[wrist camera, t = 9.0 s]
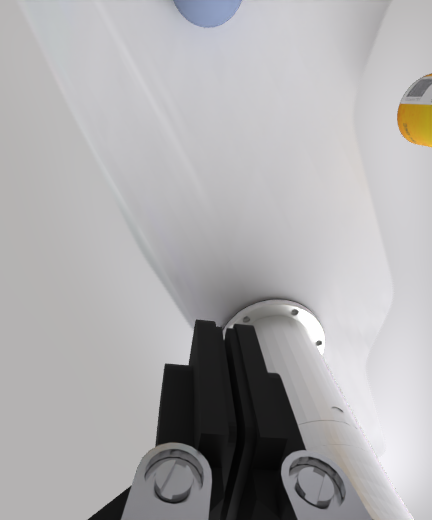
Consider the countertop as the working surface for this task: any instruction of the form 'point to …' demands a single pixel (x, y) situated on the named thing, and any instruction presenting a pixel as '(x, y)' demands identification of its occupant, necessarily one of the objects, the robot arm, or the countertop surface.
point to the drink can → (417, 112)
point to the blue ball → (207, 11)
